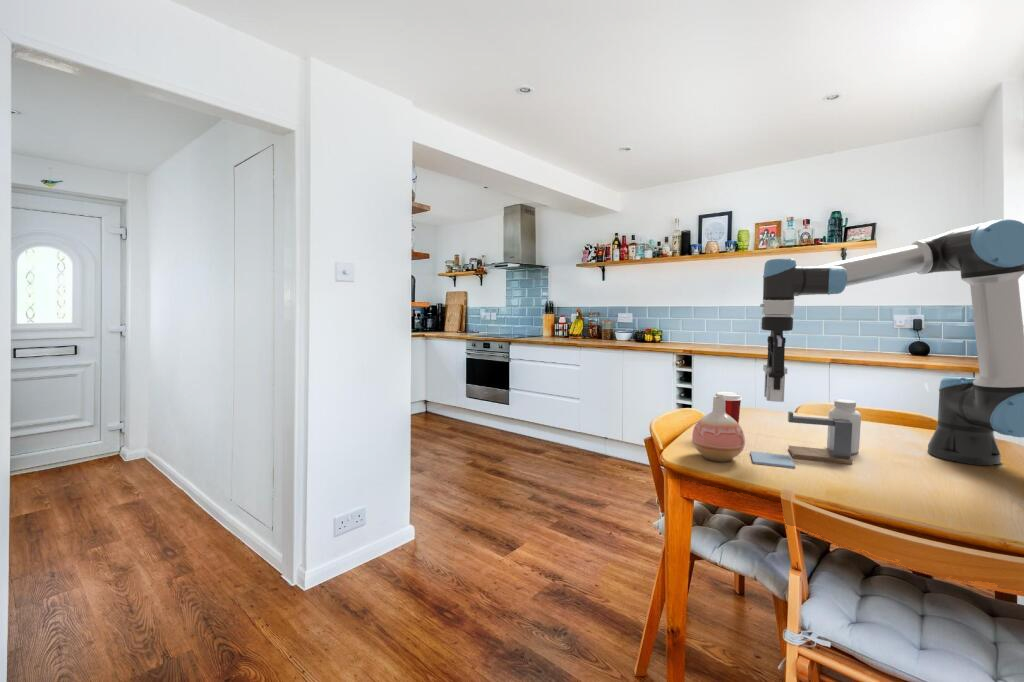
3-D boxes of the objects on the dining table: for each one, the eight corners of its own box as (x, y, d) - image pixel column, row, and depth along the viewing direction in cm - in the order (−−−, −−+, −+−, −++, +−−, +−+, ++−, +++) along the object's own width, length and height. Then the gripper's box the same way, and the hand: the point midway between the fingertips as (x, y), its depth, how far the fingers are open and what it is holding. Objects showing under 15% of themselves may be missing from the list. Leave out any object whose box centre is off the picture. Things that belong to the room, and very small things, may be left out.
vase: (683, 458, 134) (685, 397, 133) (702, 448, 144) (704, 390, 143) (734, 470, 125) (736, 404, 124) (750, 458, 135) (753, 396, 134)
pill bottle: (830, 452, 141) (832, 402, 139) (824, 445, 148) (826, 397, 147) (862, 455, 138) (865, 404, 136) (854, 447, 145) (857, 399, 144)
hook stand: (843, 454, 138) (845, 413, 137) (852, 464, 130) (854, 420, 129) (784, 449, 144) (786, 409, 143) (789, 457, 135) (791, 415, 135)
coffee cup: (734, 436, 158) (736, 391, 156) (744, 443, 149) (746, 396, 148) (708, 435, 158) (710, 391, 157) (716, 442, 150) (718, 395, 149)
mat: (789, 457, 136) (789, 455, 136) (795, 468, 127) (795, 466, 127) (750, 453, 140) (750, 451, 140) (753, 463, 130) (753, 461, 130)
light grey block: (782, 397, 134) (783, 365, 134) (785, 401, 128) (787, 368, 127) (762, 395, 136) (763, 364, 136) (764, 400, 130) (766, 367, 129)
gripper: (758, 315, 141) (755, 391, 143) (766, 316, 122) (762, 404, 124) (787, 315, 138) (783, 393, 140) (799, 316, 120) (795, 406, 121)
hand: (773, 398), depth 132 cm, fingers closed on light grey block, 7 cm apart
